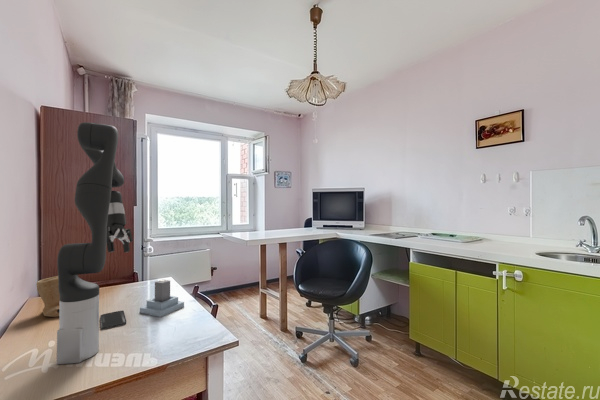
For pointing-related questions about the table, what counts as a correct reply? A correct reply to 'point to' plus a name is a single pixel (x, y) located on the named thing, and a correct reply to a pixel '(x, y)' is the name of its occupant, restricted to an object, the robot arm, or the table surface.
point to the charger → (162, 290)
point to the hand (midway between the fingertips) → (119, 252)
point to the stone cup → (49, 296)
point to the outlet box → (161, 306)
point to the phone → (112, 319)
